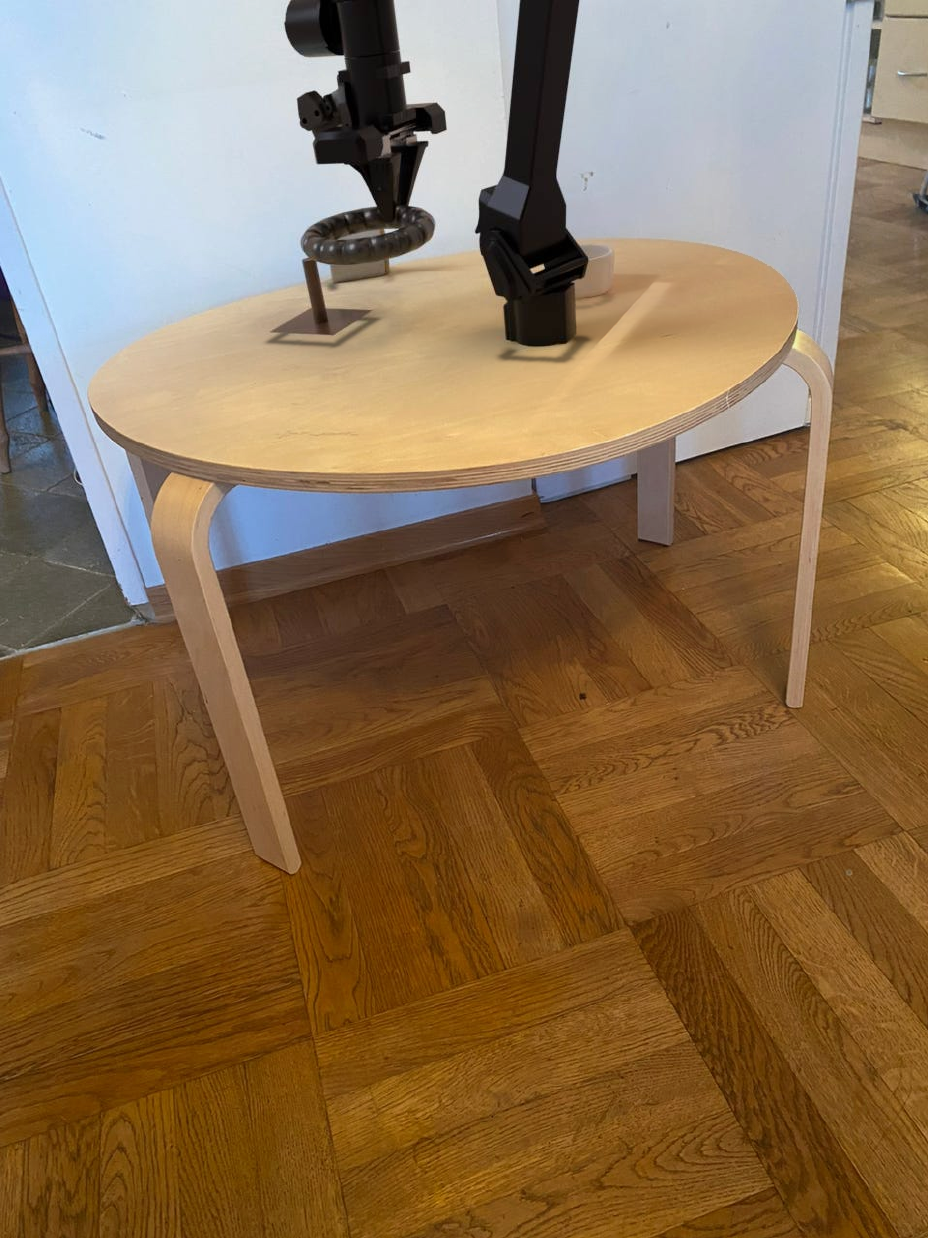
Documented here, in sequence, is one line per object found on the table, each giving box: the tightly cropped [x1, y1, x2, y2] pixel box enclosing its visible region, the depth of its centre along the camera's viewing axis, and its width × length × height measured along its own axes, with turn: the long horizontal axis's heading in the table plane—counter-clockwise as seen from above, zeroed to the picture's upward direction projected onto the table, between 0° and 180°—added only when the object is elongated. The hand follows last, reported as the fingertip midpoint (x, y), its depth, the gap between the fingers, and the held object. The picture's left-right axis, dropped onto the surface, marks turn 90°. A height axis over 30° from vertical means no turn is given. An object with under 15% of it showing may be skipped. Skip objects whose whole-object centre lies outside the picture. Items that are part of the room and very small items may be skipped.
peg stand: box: [269, 257, 373, 336], centre depth 101 cm, size 9×9×8 cm
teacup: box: [573, 242, 615, 300], centre depth 102 cm, size 10×8×5 cm
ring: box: [299, 205, 436, 266], centre depth 93 cm, size 14×14×2 cm
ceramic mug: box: [329, 229, 391, 284], centre depth 119 cm, size 11×8×8 cm
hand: (395, 219), depth 97 cm, fingers closed on ring, 2 cm apart
